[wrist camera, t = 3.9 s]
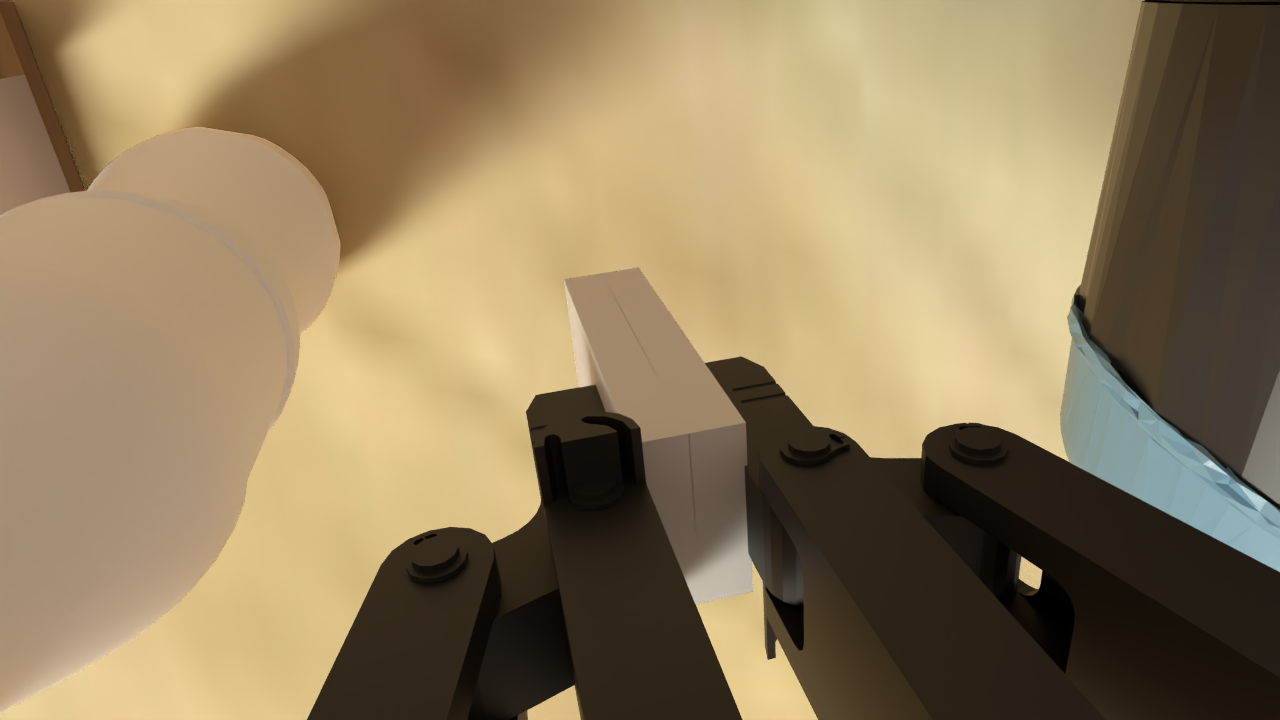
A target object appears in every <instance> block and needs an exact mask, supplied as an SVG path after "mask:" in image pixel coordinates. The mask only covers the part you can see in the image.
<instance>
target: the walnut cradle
mask: <svg viewBox="0 0 1280 720" xmlns="http://www.w3.org/2000/svg"><path fill="white" fill-rule="evenodd" d="M80 191H85V190H84V187H83V184H82V182H81V179H80V176H79V174H78V171H77V169H76V166H75V163H74V161H73V158H72V155H71V153H70V150H69V148H68V145H67V142H66V140H65V137H64V134H63V132H62V129H61V127H60V124H59V121H58V119H57V116H56V113H55V111H54V108H53V106H52V103H51V100H50V98H49V95H48V92H47V90H46V87H45V85H44V82H43V79H42V77H41V74H40V71H39V69H38V66H37V64H36V61H35V58H34V56H33V53H32V50H31V48H30V45H29V43H28V40H27V37H26V35H25V32H24V29H23V27H22V24H21V22H20V19H19V16H18V14H17V11H16V8H15V6H14V3H13V2H12V3H0V215H2V214H3V213H5V212H7V211H9V210H11V209H14V208H16V207H18V206H20V205H23V204H26V203H29V202H32V201H35V200H38V199H41V198H46V197H50V196H55V195H59V194H64V193H72V192H80Z"/></svg>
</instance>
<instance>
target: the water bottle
mask: <svg viewBox="0 0 1280 720" xmlns="http://www.w3.org/2000/svg"><path fill="white" fill-rule="evenodd" d="M340 247H341V244H340V239H339V235H338V232H337V228H336V224H335V221H334V217H333V214H332V210H331V207H330V204H329V201H328V198H327V195H326V193H325V191H324V189H323V188H322V186H321V185H320V184H319V182H318V181H317V180H316V178H315V177H314V176H313V175H312V173H311V172H310V171H309V170H308V169H307V168H306V167H305V166H304V165H303V164H302V163H301V162H299V161H298V160H297V159H296V158H295V157H294V156H293V155H291V154H289V153H288V152H286V151H285V150H283V149H282V148H280V147H279V146H277V145H276V144H274V143H272V142H270V141H268V140H266V139H264V138H261V137H258V136H254V135H249V134H244V133H237V132H231V131H225V130H218V129H212V128H205V127H192V128H185V129H181V130H177V131H173V132H168V133H164V134H161V135H157V136H155V137H153V138H150V139H148V140H146V141H143V142H141V143H139V144H137V145H135V146H134V147H132V148H130V149H129V150H127V151H125V152H124V153H122V154H121V155H119V156H118V157H117V158H116V159H114V160H113V161H112V162H110V163H109V164H108V165H107V166H106V167H105V168H104V169H103V170H102V171H101V172H100V174H99V175H98V176H97V177H96V178H95V179H94V181H93V182H92V184H91V185H90V187H89V188H88V190H87V191H80V192H72V193H64V194H59V195H55V196H50V197H46V198H41V199H38V200H35V201H32V202H29V203H26V204H23V205H20V206H18V207H16V208H14V209H11V210H9V211H7V212H5V213H3V214H2V215H0V714H1V713H3V712H4V711H6V710H8V709H10V708H12V707H14V706H16V705H18V704H20V703H21V702H23V701H25V700H27V699H29V698H31V697H33V696H35V695H37V694H39V693H41V692H43V691H45V690H47V689H49V688H51V687H52V686H54V685H56V684H58V683H60V682H62V681H64V680H66V679H68V678H70V677H71V676H73V675H75V674H76V673H78V672H80V671H81V670H83V669H85V668H86V667H88V666H90V665H91V664H93V663H95V662H96V661H98V660H100V659H101V658H103V657H105V656H106V655H108V654H110V653H111V652H113V651H115V650H116V649H118V648H120V647H121V646H123V645H125V644H126V643H128V642H130V641H131V640H133V639H135V638H136V637H137V636H139V635H140V634H141V633H142V632H144V631H145V630H146V629H148V628H149V627H150V626H152V625H153V624H154V623H155V622H157V621H158V620H159V619H160V618H161V617H163V616H164V615H165V614H166V613H168V612H169V611H170V610H171V609H172V608H174V607H175V606H176V605H177V604H178V603H180V602H181V600H182V599H183V598H184V597H185V596H186V595H187V594H188V593H189V592H190V591H191V589H192V588H193V587H194V586H195V585H196V584H197V583H198V581H199V580H200V579H201V578H202V576H203V575H204V574H205V573H206V572H207V570H208V569H209V568H210V567H211V565H212V564H213V563H214V562H215V561H216V559H217V557H218V556H219V554H220V552H221V550H222V549H223V547H224V545H225V544H226V542H227V540H228V539H229V537H230V535H231V533H232V532H233V530H234V528H235V526H236V523H237V520H238V518H239V515H240V512H241V510H242V507H243V504H244V502H245V495H246V488H247V480H248V477H249V475H250V472H251V470H252V468H253V465H254V463H255V460H256V458H257V456H258V453H259V451H260V449H261V446H262V444H263V441H264V439H265V437H266V434H267V432H268V431H269V430H270V429H271V428H272V426H273V425H274V424H275V422H276V420H277V419H278V417H279V416H280V414H281V412H282V410H283V408H284V406H285V403H286V401H287V399H288V397H289V394H290V391H291V388H292V385H293V383H294V379H295V375H296V370H297V366H298V358H299V348H300V334H301V333H302V332H304V331H305V330H306V329H307V328H309V327H310V326H311V325H312V323H313V322H314V321H315V320H316V319H317V318H318V316H319V315H320V313H321V312H322V310H323V309H324V307H325V305H326V303H327V300H328V298H329V296H330V293H331V291H332V288H333V286H334V282H335V279H336V275H337V271H338V267H339V261H340Z"/></svg>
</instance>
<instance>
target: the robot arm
mask: <svg viewBox="0 0 1280 720" xmlns="http://www.w3.org/2000/svg"><path fill="white" fill-rule="evenodd" d="M564 284H565V291H566V298H567V306H568V313H569V320H570V327H571V335H572V342H573V349H574V356H575V364H576V371H577V378H578V385H579V388H573V389H568V390H562V391H556V392H551V393H545V394H539V395H536V396H535V398H534V399H533V401H532V403H531V404H530V406H529V408H528V409H527V411H526V414H527V420H528V426H529V432H530V438H531V443H532V449H533V455H534V461H535V467H536V473H537V478H538V484H539V490H540V496H541V505H540V507H539V509H538V511H537V513H536V515H535V516H534V517H533V518H532V519H531V520H530V522H529V523H527V524H526V525H525V526H523V527H522V528H521V529H519V530H518V531H516V532H514V533H513V534H511V535H509V536H507V537H505V538H503V539H500V540H498V541H496V542H493V543H491V542H490V540H489V539H488V538H487V537H486V535H485V534H482V533H480V532H477V531H475V530H473V529H470V528H457V527H448V528H442V529H437V530H431V531H428V532H425V533H423V534H420V535H418V536H415V537H413V538H410V539H408V540H407V541H405V542H404V543H403V544H401V545H400V546H398V547H397V548H395V549H394V550H393V551H391V553H390V554H389V555H388V557H387V558H386V559H385V561H384V562H383V563H382V565H381V566H380V568H379V570H378V573H377V575H376V577H375V579H374V581H373V583H372V585H371V587H370V589H369V591H368V593H367V595H366V598H365V600H364V602H363V604H362V606H361V608H360V610H359V612H358V614H357V616H356V618H355V621H354V623H353V625H352V627H351V629H350V631H349V633H348V635H347V637H346V639H345V641H344V644H343V646H342V648H341V650H340V652H339V654H338V656H337V658H336V660H335V662H334V664H333V667H332V669H331V671H330V673H329V675H328V677H327V679H326V681H325V683H324V685H323V687H322V689H321V692H320V694H319V696H318V698H317V700H316V702H315V704H314V706H313V708H312V710H311V712H310V715H309V717H308V719H307V720H528V717H527V710H528V709H530V708H532V707H534V706H536V705H538V704H540V703H542V702H543V701H545V700H547V699H549V698H551V697H553V696H555V695H556V694H558V693H560V692H562V691H564V690H566V689H568V688H570V687H571V686H573V685H575V690H576V695H577V701H578V706H579V712H580V717H581V720H742V718H741V715H740V713H739V710H738V708H737V705H736V703H735V700H734V698H733V696H732V693H731V691H730V688H729V686H728V683H727V681H726V678H725V676H724V673H723V671H722V669H721V666H720V664H719V661H718V659H717V656H716V654H715V651H714V649H713V646H712V644H711V641H710V639H709V637H708V634H707V632H706V629H705V627H704V624H703V622H702V619H701V617H700V614H699V612H698V610H697V607H696V604H700V603H705V602H709V601H714V600H718V599H723V598H727V597H732V596H736V595H741V594H745V593H750V592H753V581H752V562H753V564H754V565H755V567H756V569H757V571H758V573H759V575H760V577H761V579H762V580H763V597H764V626H765V648H766V653H767V658H768V659H773V658H776V654H775V642H776V640H777V639H778V641H779V643H780V645H781V647H782V649H783V651H784V653H785V655H786V657H787V659H788V661H789V663H790V665H791V667H792V668H793V670H794V672H795V674H796V676H797V678H798V680H799V682H800V684H801V686H802V688H803V690H804V692H805V694H806V696H807V698H808V700H809V702H810V704H811V706H812V708H813V710H814V712H815V714H816V716H817V718H818V720H1280V0H1146V1H1142V4H1141V9H1140V14H1139V18H1138V23H1137V28H1136V32H1135V37H1134V41H1133V46H1132V51H1131V55H1130V60H1129V65H1128V69H1127V74H1126V79H1125V83H1124V88H1123V93H1122V97H1121V102H1120V106H1119V111H1118V116H1117V120H1116V125H1115V130H1114V134H1113V139H1112V144H1111V148H1110V153H1109V157H1108V162H1107V167H1106V171H1105V176H1104V181H1103V185H1102V190H1101V195H1100V199H1099V204H1098V209H1097V213H1096V218H1095V222H1094V227H1093V232H1092V236H1091V241H1090V246H1089V250H1088V255H1087V260H1086V264H1085V269H1084V274H1083V278H1082V283H1081V285H1080V286H1079V287H1078V288H1077V290H1076V292H1075V294H1074V297H1073V299H1072V306H1071V308H1070V313H1069V315H1068V317H1067V319H1068V324H1069V330H1070V333H1071V336H1072V341H1071V348H1070V354H1069V361H1068V367H1067V374H1066V380H1065V387H1064V393H1063V400H1062V406H1061V413H1060V421H1061V434H1062V438H1063V443H1064V448H1065V451H1066V454H1067V457H1068V460H1069V462H1068V461H1066V460H1064V459H1062V458H1060V457H1058V456H1056V455H1054V454H1052V453H1050V452H1049V451H1047V450H1045V449H1043V448H1041V447H1039V446H1037V445H1035V444H1033V443H1031V442H1029V441H1027V440H1026V439H1024V438H1022V437H1020V436H1018V435H1016V434H1013V433H1011V432H1008V431H1006V430H1003V429H1000V428H998V427H993V426H987V425H982V424H979V423H968V424H966V423H960V424H954V425H949V426H945V427H940V428H938V429H936V430H934V431H933V432H931V433H929V434H928V435H927V436H926V438H925V440H924V442H923V444H922V458H871V457H869V456H868V455H867V454H866V452H865V451H864V450H863V449H862V448H861V447H860V446H859V445H858V444H857V442H855V441H854V440H853V439H851V438H850V437H848V436H847V435H846V434H844V433H841V432H838V431H835V430H832V429H830V428H824V427H815V426H813V425H812V424H811V423H810V421H809V420H808V419H807V418H806V417H805V416H804V414H803V413H802V412H801V411H800V410H799V408H798V407H797V406H796V405H795V404H794V402H793V401H792V400H791V399H790V398H789V397H788V395H787V396H786V395H785V392H784V391H783V389H782V388H781V387H780V386H779V385H778V384H776V381H775V380H774V379H773V378H772V376H771V375H770V374H769V373H768V372H767V370H766V369H765V368H764V367H763V366H761V365H758V364H756V363H754V362H752V361H750V360H748V359H746V358H743V357H736V358H731V359H725V360H719V361H714V362H708V363H704V361H703V360H702V358H701V357H700V356H699V354H698V353H697V351H696V350H695V348H694V347H693V345H692V344H691V343H690V341H689V340H688V338H687V337H686V335H685V334H684V332H683V331H682V330H681V328H680V327H679V325H678V324H677V322H676V321H675V319H674V318H673V316H672V315H671V314H670V312H669V311H668V309H667V308H666V306H665V305H664V303H663V302H662V301H661V299H660V298H659V296H658V295H657V293H656V292H655V290H654V289H653V288H652V286H651V285H650V283H649V282H648V280H647V279H646V277H645V276H644V274H643V273H642V272H641V270H640V269H639V268H633V269H627V270H621V271H614V272H608V273H601V274H595V275H588V276H582V277H576V278H569V279H564ZM1021 556H1022V557H1024V558H1025V559H1027V560H1028V561H1030V562H1031V563H1033V564H1034V565H1036V566H1037V567H1038V568H1040V569H1041V570H1043V571H1042V578H1041V585H1040V588H1039V589H1035V588H1033V587H1031V586H1028V585H1027V584H1025V583H1024V582H1023V581H1021V580H1020V579H1018V578H1019V570H1020V562H1021Z"/></svg>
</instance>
